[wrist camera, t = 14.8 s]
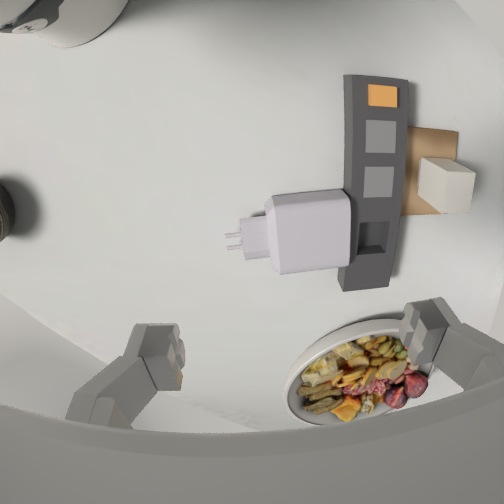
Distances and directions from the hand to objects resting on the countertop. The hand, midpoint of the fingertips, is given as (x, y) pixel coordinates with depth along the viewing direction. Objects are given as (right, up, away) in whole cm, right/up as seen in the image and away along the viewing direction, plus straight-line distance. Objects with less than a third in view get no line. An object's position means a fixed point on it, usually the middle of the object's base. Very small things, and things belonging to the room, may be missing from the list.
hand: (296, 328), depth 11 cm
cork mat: (+22, +13, +27) cm, 37 cm away
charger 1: (+3, +6, +31) cm, 31 cm away
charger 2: (+22, +13, +26) cm, 36 cm away
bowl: (+19, -20, +46) cm, 53 cm away
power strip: (+13, +11, +28) cm, 33 cm away
